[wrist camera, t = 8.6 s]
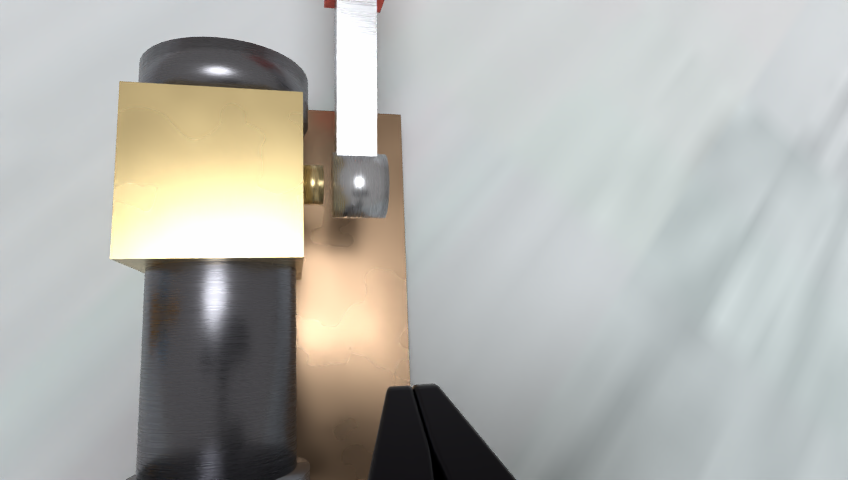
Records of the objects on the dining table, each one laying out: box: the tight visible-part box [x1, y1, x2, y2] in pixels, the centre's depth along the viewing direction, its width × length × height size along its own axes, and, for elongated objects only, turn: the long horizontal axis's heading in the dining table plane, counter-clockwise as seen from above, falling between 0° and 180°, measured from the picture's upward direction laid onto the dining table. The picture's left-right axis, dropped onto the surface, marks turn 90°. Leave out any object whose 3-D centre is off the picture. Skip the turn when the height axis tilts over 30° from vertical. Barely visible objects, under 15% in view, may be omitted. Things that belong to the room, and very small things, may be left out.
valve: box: [110, 37, 410, 480], centre depth 18 cm, size 16×9×7 cm, turn 2°
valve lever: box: [324, 0, 389, 218], centre depth 17 cm, size 2×2×12 cm
